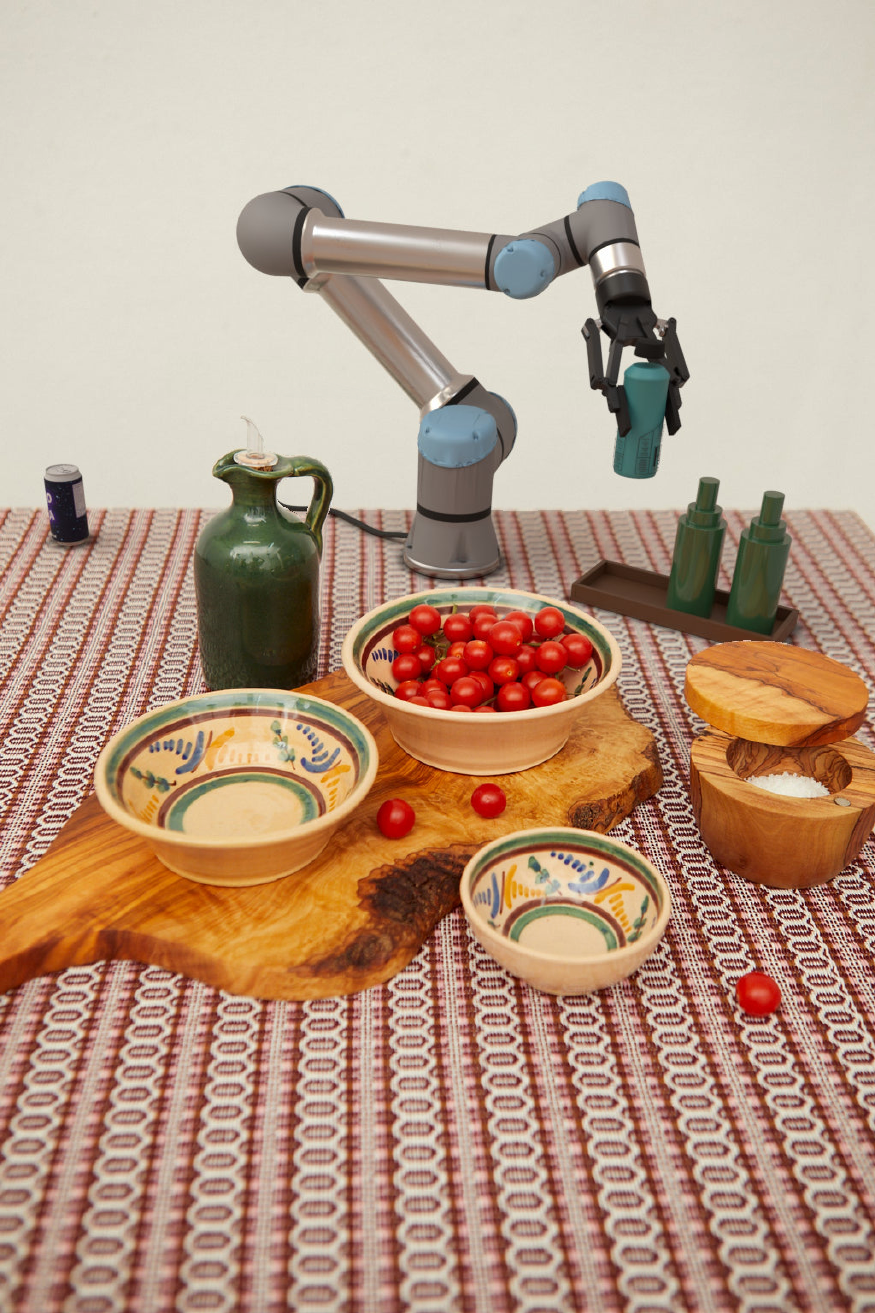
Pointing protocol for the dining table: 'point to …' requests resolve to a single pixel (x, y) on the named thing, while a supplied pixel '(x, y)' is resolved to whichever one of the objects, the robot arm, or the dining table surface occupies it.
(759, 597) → the green bottle
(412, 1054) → the dining table surface
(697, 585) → the green bottle
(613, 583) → the tray
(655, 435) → the beverage bottle
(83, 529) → the beverage can
